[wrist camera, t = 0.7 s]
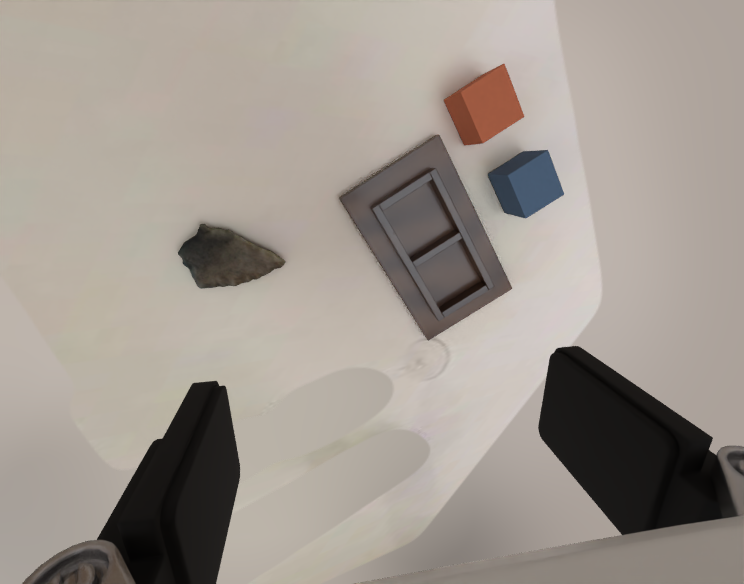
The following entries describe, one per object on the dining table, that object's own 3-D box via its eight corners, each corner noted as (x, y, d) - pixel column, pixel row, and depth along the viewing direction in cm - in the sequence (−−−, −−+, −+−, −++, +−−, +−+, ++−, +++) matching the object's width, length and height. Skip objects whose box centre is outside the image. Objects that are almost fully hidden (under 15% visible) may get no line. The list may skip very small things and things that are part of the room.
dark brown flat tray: (339, 197, 39) (340, 199, 36) (435, 135, 38) (444, 133, 36) (425, 337, 46) (431, 346, 43) (508, 286, 45) (519, 292, 43)
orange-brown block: (443, 100, 37) (460, 91, 33) (482, 74, 37) (504, 63, 33) (464, 145, 39) (482, 143, 35) (501, 121, 39) (524, 116, 34)
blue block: (487, 174, 40) (507, 175, 36) (523, 151, 40) (548, 149, 36) (504, 213, 42) (525, 218, 38) (539, 191, 42) (564, 194, 38)
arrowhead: (289, 267, 40) (288, 271, 39) (201, 294, 40) (198, 299, 38) (265, 204, 38) (263, 205, 36) (171, 232, 37) (166, 234, 36)
